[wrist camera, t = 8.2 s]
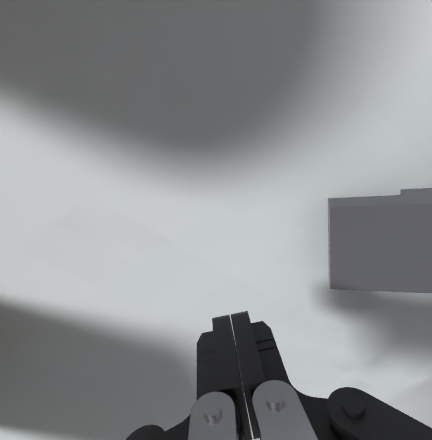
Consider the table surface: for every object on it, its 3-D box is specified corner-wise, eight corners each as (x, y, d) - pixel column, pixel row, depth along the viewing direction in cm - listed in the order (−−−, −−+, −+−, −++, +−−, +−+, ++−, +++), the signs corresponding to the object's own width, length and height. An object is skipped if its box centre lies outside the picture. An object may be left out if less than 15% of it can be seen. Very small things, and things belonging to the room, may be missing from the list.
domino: (329, 207, 16) (582, 197, 13) (328, 198, 17) (554, 188, 14) (330, 289, 17) (554, 298, 14) (328, 274, 19) (532, 280, 16)
